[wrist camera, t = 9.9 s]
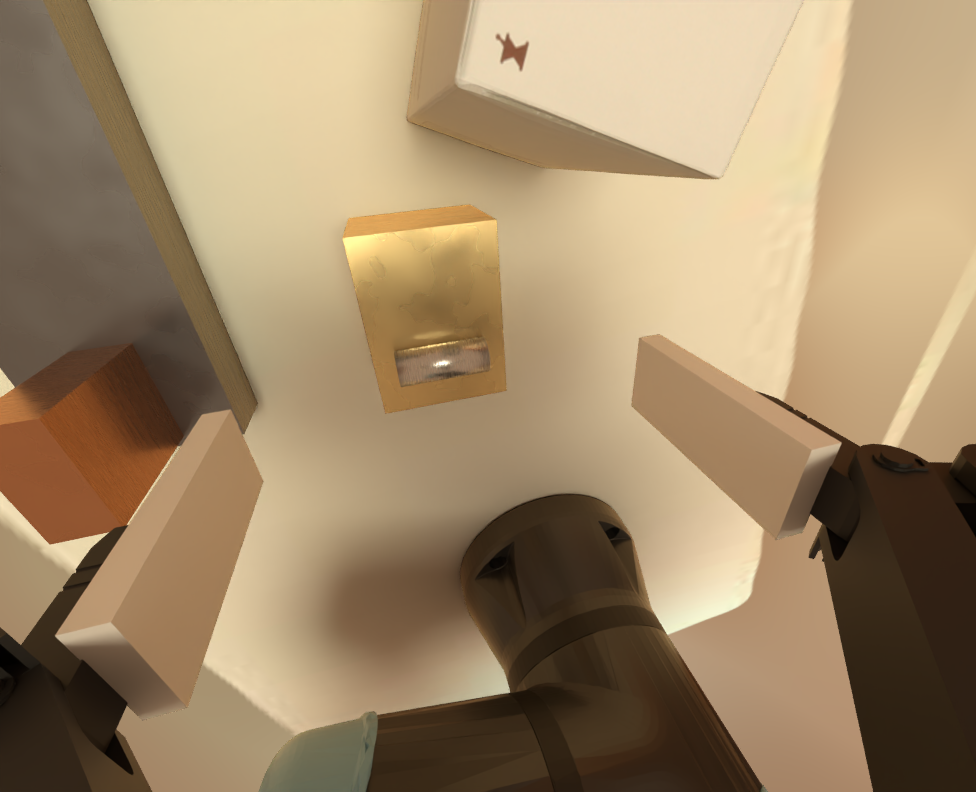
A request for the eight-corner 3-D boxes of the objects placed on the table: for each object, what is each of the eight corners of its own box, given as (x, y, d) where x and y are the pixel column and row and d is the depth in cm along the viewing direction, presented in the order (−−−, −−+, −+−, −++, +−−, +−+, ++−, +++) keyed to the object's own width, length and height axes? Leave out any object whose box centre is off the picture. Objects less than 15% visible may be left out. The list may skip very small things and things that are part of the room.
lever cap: (481, 346, 25) (514, 404, 20) (382, 363, 24) (386, 430, 19) (469, 204, 21) (505, 225, 16) (348, 217, 20) (340, 245, 15)
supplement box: (547, 172, 21) (721, 195, 11) (402, 121, 19) (442, 85, 8) (604, -13, 18) (933, -240, 8) (439, -105, 16) (582, -634, 5)
